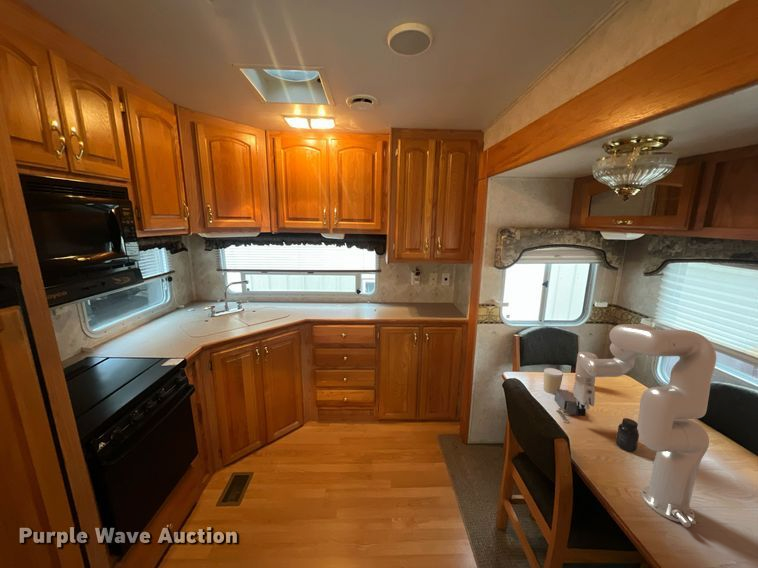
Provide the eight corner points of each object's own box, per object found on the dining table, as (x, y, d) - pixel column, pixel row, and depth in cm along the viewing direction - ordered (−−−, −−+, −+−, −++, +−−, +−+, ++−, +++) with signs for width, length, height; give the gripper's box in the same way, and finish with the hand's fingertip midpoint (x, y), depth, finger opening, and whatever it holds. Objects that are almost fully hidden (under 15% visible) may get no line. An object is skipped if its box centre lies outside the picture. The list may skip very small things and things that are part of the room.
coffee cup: (564, 395, 161) (566, 375, 159) (547, 395, 161) (550, 375, 159) (554, 386, 170) (556, 367, 168) (538, 386, 170) (540, 367, 168)
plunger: (577, 414, 142) (579, 404, 141) (559, 412, 144) (560, 402, 143) (567, 402, 153) (569, 392, 152) (550, 400, 154) (551, 390, 153)
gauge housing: (584, 424, 136) (586, 412, 135) (563, 422, 138) (564, 410, 137) (566, 401, 155) (567, 390, 154) (547, 399, 157) (549, 388, 156)
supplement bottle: (640, 453, 118) (645, 428, 116) (621, 451, 120) (626, 425, 118) (629, 442, 125) (634, 417, 123) (611, 439, 126) (616, 415, 124)
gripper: (603, 387, 124) (598, 425, 127) (585, 372, 139) (581, 407, 142) (584, 385, 126) (579, 423, 129) (568, 370, 140) (564, 405, 143)
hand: (580, 414), depth 135 cm, fingers closed
